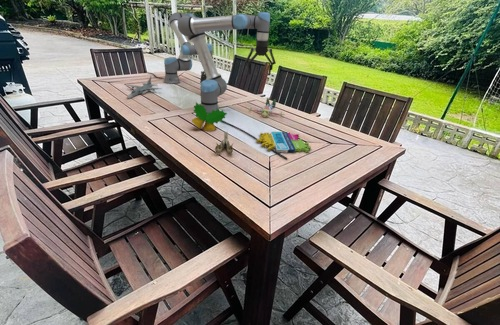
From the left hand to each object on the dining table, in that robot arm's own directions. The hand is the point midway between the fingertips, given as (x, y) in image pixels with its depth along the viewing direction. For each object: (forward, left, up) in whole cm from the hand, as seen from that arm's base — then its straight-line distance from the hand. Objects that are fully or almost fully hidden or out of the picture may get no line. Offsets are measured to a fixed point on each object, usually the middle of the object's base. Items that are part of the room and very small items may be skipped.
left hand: (208, 90), depth 231 cm
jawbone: (+91, -63, -4) cm, 111 cm away
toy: (+63, +7, -4) cm, 63 cm away
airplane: (-36, -43, -4) cm, 56 cm away
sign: (+105, -30, -4) cm, 109 cm away
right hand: (+63, -7, +26) cm, 69 cm away
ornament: (+62, -49, -4) cm, 79 cm away
